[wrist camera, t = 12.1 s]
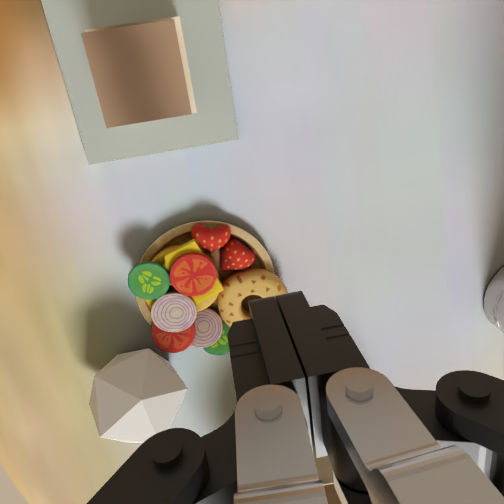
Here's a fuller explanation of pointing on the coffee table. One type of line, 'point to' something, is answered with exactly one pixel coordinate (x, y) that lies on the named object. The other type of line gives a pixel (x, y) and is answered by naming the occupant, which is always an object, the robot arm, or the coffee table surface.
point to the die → (135, 396)
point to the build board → (199, 61)
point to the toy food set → (201, 284)
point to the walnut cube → (138, 73)
